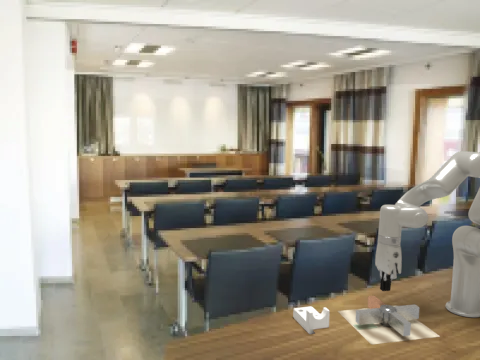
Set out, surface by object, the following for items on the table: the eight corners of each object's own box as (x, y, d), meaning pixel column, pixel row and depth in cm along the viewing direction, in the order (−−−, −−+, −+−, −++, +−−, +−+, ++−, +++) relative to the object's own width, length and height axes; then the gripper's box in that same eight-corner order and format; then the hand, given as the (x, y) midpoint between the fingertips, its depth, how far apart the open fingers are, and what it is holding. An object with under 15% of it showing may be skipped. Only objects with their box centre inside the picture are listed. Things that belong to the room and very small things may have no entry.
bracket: (328, 332, 142) (329, 310, 141) (309, 335, 140) (309, 313, 139) (311, 315, 154) (311, 295, 153) (293, 317, 152) (293, 297, 151)
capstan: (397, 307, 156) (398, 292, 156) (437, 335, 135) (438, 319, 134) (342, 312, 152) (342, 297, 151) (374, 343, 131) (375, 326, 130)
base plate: (397, 309, 159) (397, 304, 159) (440, 340, 136) (440, 335, 135) (337, 315, 154) (337, 310, 154) (371, 348, 131) (371, 343, 130)
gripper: (411, 245, 143) (406, 298, 146) (387, 234, 158) (383, 282, 160) (391, 246, 142) (387, 299, 144) (368, 234, 156) (365, 283, 159)
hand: (385, 290), depth 152 cm, fingers closed
